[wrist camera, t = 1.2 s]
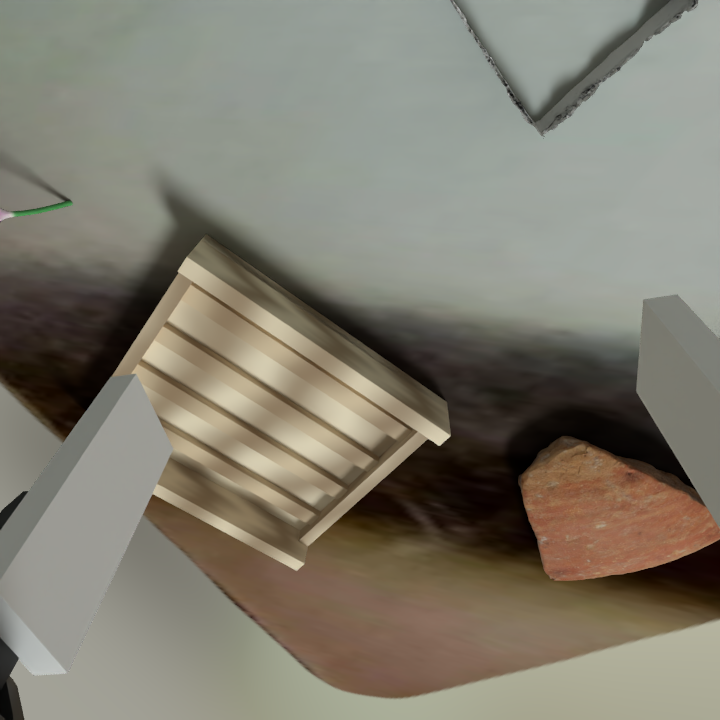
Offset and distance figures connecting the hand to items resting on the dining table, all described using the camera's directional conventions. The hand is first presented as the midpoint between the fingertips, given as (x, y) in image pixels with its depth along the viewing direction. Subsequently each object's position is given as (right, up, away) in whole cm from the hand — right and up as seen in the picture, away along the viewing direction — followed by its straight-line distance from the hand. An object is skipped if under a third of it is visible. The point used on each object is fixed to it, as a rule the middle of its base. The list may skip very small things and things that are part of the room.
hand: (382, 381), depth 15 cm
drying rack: (-8, -3, +29) cm, 31 cm away
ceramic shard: (+20, -10, +32) cm, 39 cm away
